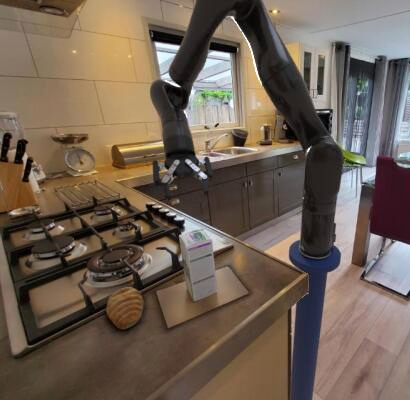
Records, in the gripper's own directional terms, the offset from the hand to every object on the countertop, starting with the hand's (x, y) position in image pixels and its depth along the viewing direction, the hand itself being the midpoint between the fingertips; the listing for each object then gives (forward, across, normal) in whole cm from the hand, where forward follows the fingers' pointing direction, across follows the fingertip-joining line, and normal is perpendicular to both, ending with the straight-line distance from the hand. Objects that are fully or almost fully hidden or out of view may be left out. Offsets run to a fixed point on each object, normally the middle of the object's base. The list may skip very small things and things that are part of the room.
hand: (187, 196), depth 61 cm
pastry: (+22, -15, +6) cm, 28 cm away
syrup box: (+22, 0, +6) cm, 23 cm away
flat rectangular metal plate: (+22, 0, +5) cm, 23 cm away
